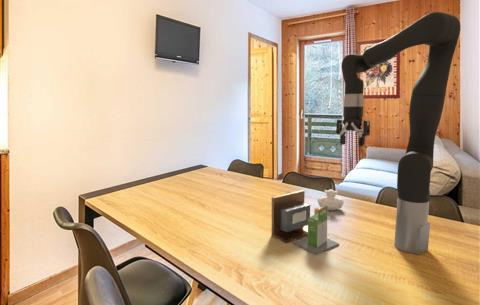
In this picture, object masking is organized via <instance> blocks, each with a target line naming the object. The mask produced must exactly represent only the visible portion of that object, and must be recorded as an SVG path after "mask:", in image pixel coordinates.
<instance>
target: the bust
mask: <svg viewBox="0 0 480 305" xmlns="http://www.w3.org/2000/svg"><path fill="white" fill-rule="evenodd" d="M324 193H325V194H326V195H325V196H322V197H319V198H317V203H318V206H319V208H323V207H325V206H327V205H328V209H327V211H330V212H331V211H334V212H335V211H336V210H339V209H342V208H343V206H344V203H345V201H344V200H343V198H338V197H336V196H337V195H336V194H338V190H334V189H333V188H331V189H328V190H327V189H324Z"/></svg>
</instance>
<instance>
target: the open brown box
mask: <svg viewBox="0 0 480 305" xmlns="http://www.w3.org/2000/svg"><path fill="white" fill-rule="evenodd" d="M305 194H306V193H305V190H303V189H301V190H298V191H297V190H296V191H292V192H289V193H285V194H279V195H275V196H271V237H274V238H275V239H277V240H279V241H281V242H283V243H285V244H287V243H291V242H295V241H298V240H300V239H301V238H302V239H303V238H306V237H308V218H309V217H311V204H310V203H306V202H305Z"/></svg>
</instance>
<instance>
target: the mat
mask: <svg viewBox="0 0 480 305" xmlns="http://www.w3.org/2000/svg"><path fill="white" fill-rule="evenodd" d="M307 242H308V236H306V237H303V238H302V239H298V240H295V241H293V245H296V246H298V247H300V248H301V249H303V250H306V251H307V252H310V253H311V254H314V255H315V256H317V255H318V254H321V253H324V252H326V251H329V250H331V249H333V248H336V247H338V246H340V243H339V242H336V241H334V240H332V239H331V238H328V237H327V241H326V242H325V243H323V244H322V245H320V246H319V247H318V248H317V247H313V246H310V245H308V244H307Z"/></svg>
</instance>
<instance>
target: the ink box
mask: <svg viewBox="0 0 480 305" xmlns="http://www.w3.org/2000/svg"><path fill="white" fill-rule="evenodd" d="M321 208H322V207H321ZM327 209H328V205H327V206H325V207H323V208H322V209H320V210H318V213H317V214H315V215H310V217H309V218H308V225H307V226H308V236H307V237H308V242H307V244H308V245H310V246H313V247H317V248H318V247H319V246H320V245H322V244H323V243H325V242H326V241H327V238H328V210H327ZM322 210H325V212H324V213H323V214H321V211H322Z"/></svg>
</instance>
